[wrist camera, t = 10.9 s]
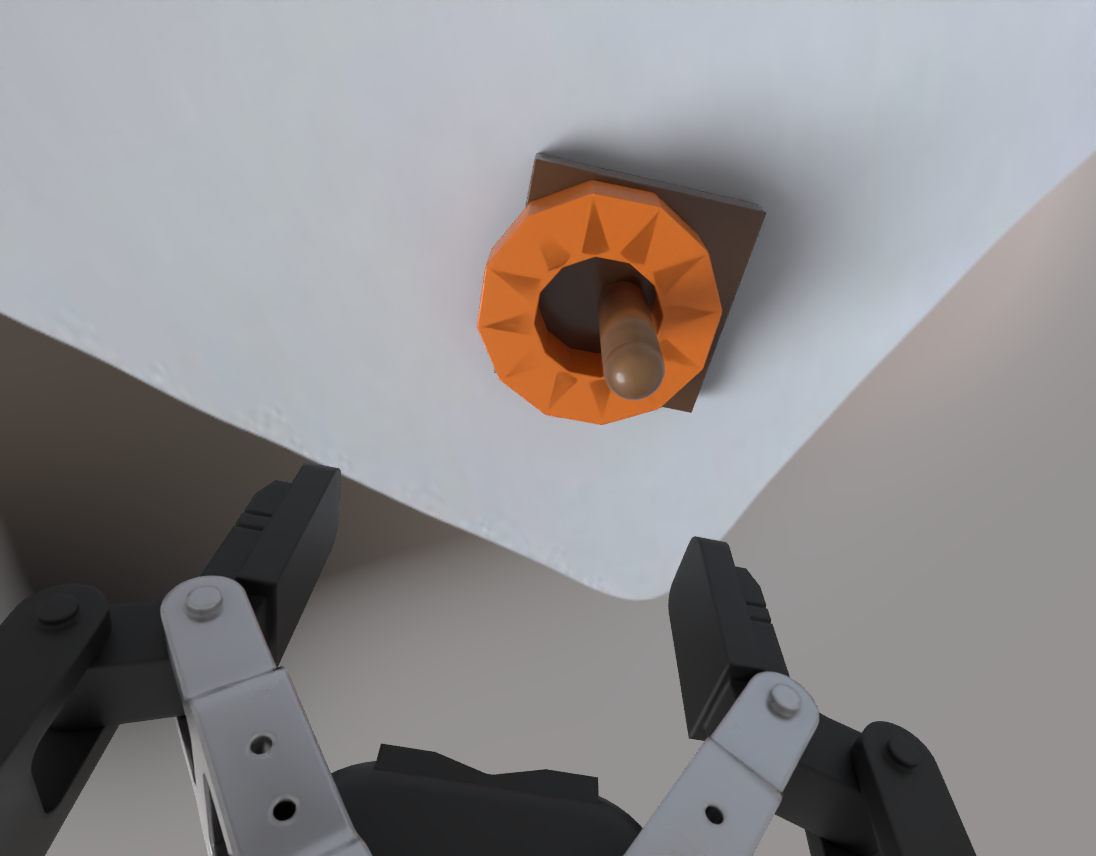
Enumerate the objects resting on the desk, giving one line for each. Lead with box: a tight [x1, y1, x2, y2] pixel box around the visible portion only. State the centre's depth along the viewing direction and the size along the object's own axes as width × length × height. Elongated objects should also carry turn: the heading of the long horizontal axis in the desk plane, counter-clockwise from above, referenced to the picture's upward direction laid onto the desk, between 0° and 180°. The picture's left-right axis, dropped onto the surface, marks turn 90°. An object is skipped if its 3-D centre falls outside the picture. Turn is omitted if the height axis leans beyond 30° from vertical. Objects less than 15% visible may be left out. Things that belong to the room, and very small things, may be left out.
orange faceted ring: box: [477, 180, 722, 425], centre depth 29 cm, size 10×10×3 cm
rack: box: [494, 153, 766, 413], centre depth 28 cm, size 10×10×10 cm
